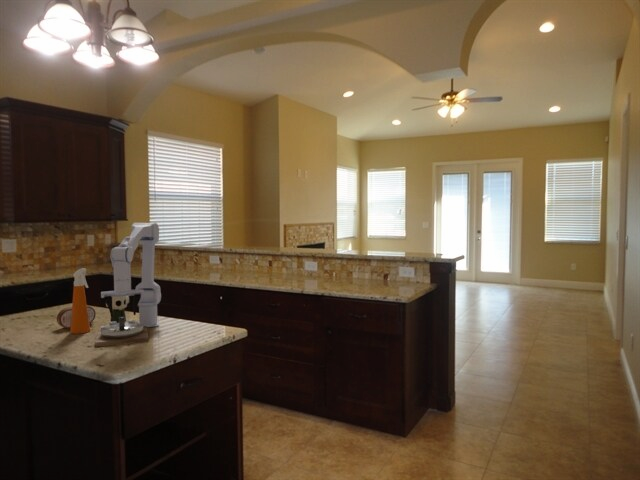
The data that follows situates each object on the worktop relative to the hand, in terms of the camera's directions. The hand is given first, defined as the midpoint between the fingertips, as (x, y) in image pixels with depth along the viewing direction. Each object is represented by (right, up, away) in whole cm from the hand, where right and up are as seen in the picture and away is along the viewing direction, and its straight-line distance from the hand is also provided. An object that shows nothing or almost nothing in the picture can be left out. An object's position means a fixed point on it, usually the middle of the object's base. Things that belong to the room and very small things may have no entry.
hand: (123, 315), depth 169 cm
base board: (-3, -10, +7) cm, 13 cm away
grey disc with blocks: (-3, -8, +7) cm, 11 cm away
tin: (-30, -9, +24) cm, 40 cm away
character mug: (-15, -8, +30) cm, 34 cm away
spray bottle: (-23, -9, +14) cm, 29 cm away
